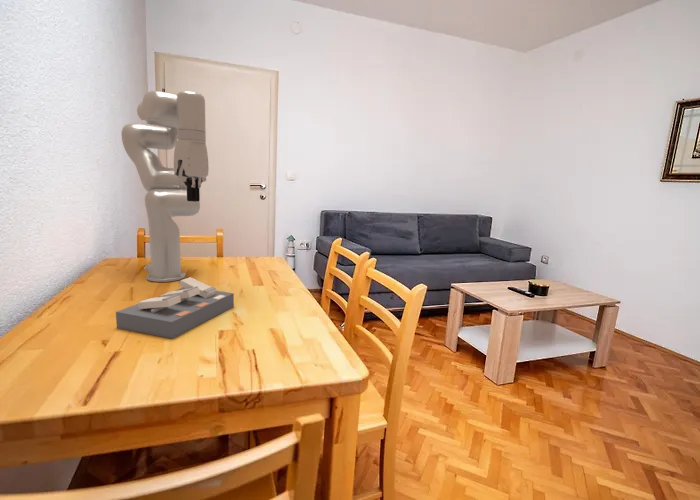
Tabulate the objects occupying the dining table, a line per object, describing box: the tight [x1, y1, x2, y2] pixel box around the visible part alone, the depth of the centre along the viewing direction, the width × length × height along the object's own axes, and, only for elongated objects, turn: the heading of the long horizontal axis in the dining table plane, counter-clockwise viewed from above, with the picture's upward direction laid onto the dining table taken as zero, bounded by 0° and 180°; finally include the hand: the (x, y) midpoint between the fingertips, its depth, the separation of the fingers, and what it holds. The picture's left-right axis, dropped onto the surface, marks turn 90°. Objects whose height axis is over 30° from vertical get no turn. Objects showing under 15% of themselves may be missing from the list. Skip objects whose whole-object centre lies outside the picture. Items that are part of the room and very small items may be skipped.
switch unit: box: [115, 287, 235, 340], centre depth 96 cm, size 16×24×5 cm, turn 164°
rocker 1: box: [137, 294, 181, 309], centre depth 89 cm, size 9×4×2 cm, turn 74°
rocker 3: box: [179, 276, 218, 298], centre depth 102 cm, size 9×4×2 cm, turn 74°
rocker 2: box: [159, 286, 200, 299], centre depth 96 cm, size 9×4×2 cm, turn 74°
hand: (193, 201), depth 110 cm, fingers closed
